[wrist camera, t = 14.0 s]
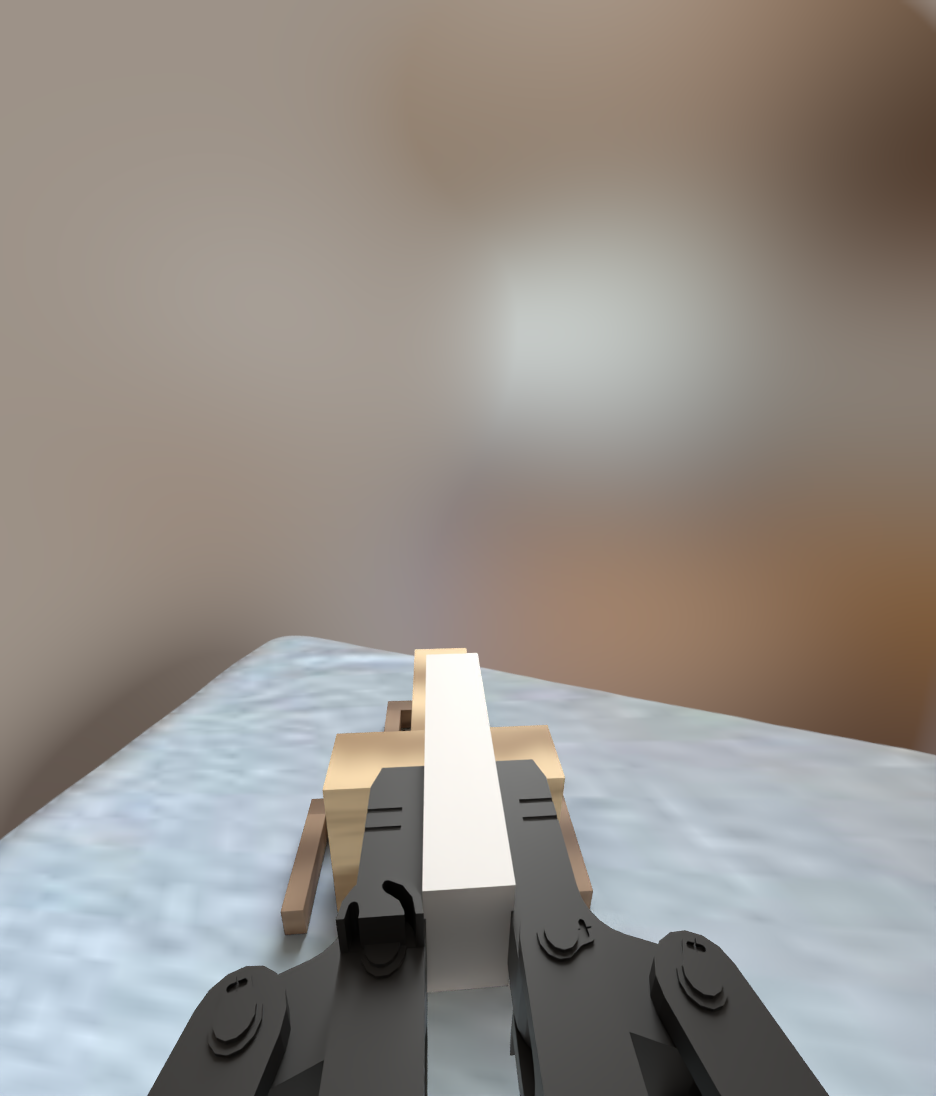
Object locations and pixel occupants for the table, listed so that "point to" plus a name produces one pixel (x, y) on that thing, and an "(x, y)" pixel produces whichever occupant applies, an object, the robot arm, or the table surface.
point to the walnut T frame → (316, 836)
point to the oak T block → (370, 752)
